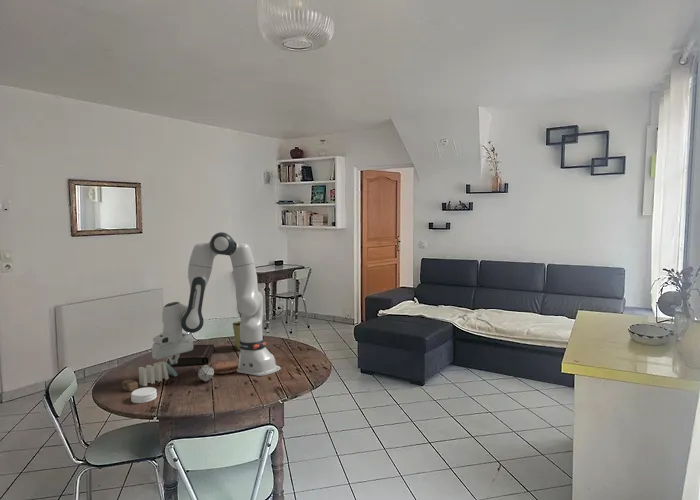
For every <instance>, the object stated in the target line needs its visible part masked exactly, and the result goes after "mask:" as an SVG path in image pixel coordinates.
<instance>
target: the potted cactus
mask: <svg viewBox="0 0 700 500" xmlns="http://www.w3.org/2000/svg"><path fill="white" fill-rule="evenodd" d="M236 311H237V314H238V315H239V320H238V321H237V320H236V321H234V322H233V323H232V328H233V334H234V340H235V345H236V349H237V350H238V351H240V350H241V348H240V345H239V343H240V322H241V314H240V313H239V312H238V310H237V308H236Z"/></svg>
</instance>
